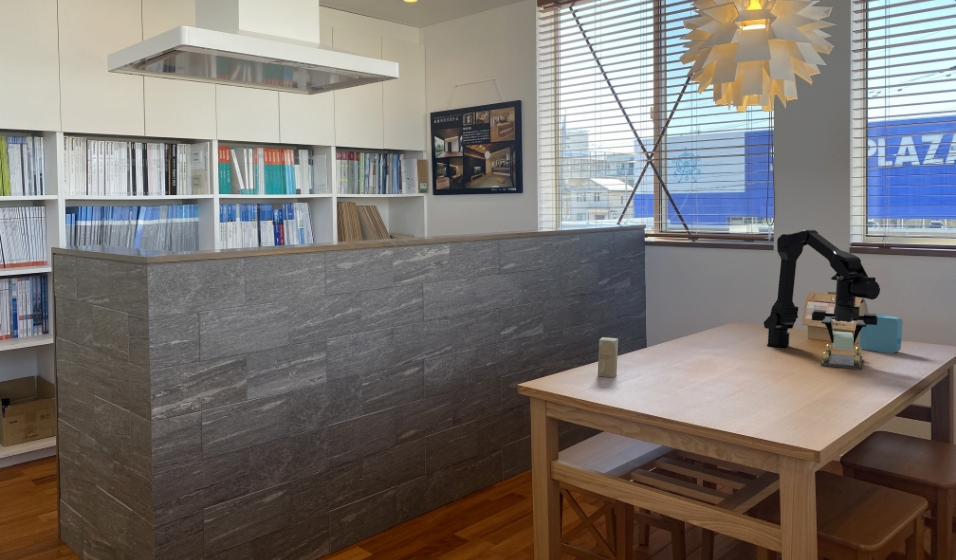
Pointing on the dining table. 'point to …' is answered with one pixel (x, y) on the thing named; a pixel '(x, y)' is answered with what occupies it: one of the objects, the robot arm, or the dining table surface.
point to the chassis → (842, 359)
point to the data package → (882, 335)
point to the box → (608, 357)
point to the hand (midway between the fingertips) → (842, 343)
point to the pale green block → (843, 341)
